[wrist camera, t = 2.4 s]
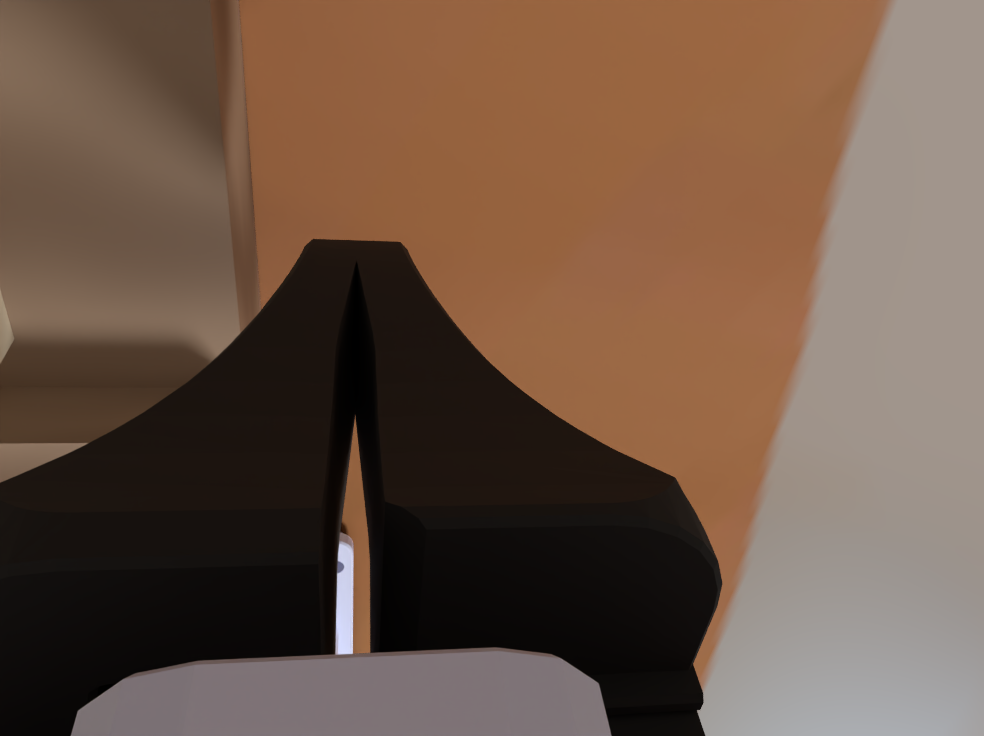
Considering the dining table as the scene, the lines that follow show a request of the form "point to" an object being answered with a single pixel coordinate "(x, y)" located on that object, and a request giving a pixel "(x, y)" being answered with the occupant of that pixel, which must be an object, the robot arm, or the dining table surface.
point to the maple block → (4, 330)
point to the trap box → (118, 211)
